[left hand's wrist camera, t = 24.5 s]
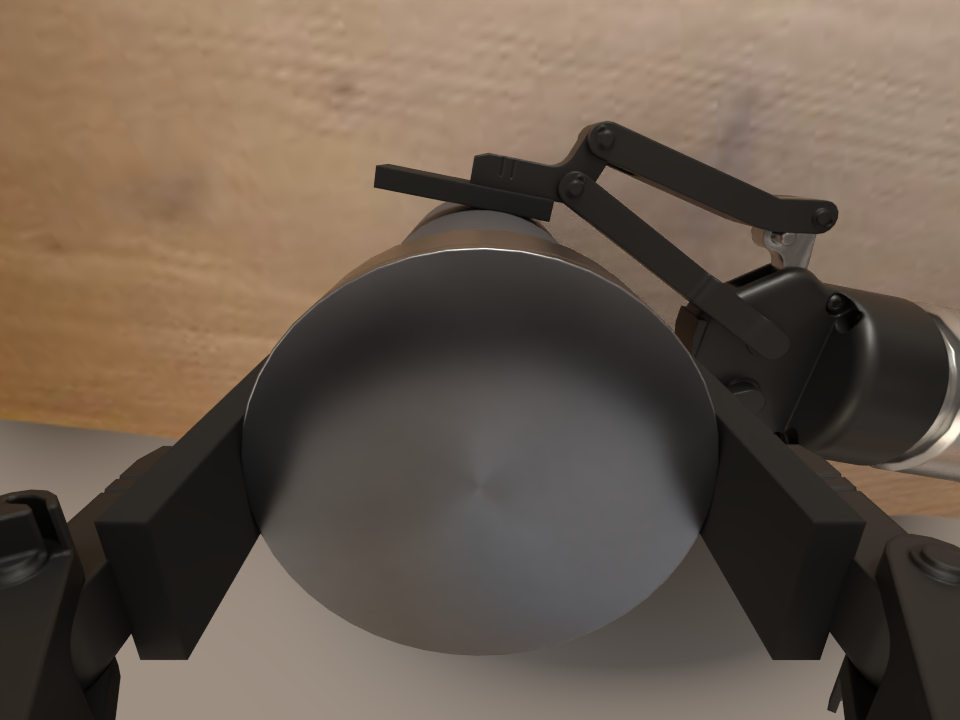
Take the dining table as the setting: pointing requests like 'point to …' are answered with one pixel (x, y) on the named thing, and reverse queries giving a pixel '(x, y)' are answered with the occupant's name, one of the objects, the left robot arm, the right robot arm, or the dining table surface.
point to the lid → (480, 446)
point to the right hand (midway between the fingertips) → (369, 289)
